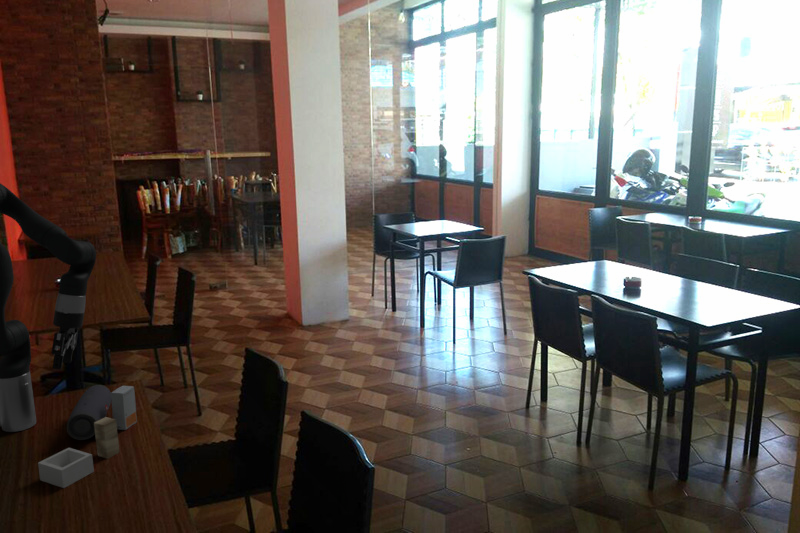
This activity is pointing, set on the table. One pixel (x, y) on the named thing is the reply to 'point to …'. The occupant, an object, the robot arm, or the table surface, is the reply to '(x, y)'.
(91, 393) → the bluetooth speaker
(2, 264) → the robot arm
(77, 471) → the socket stand
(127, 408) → the skincare box
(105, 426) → the birch peg
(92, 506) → the table surface
